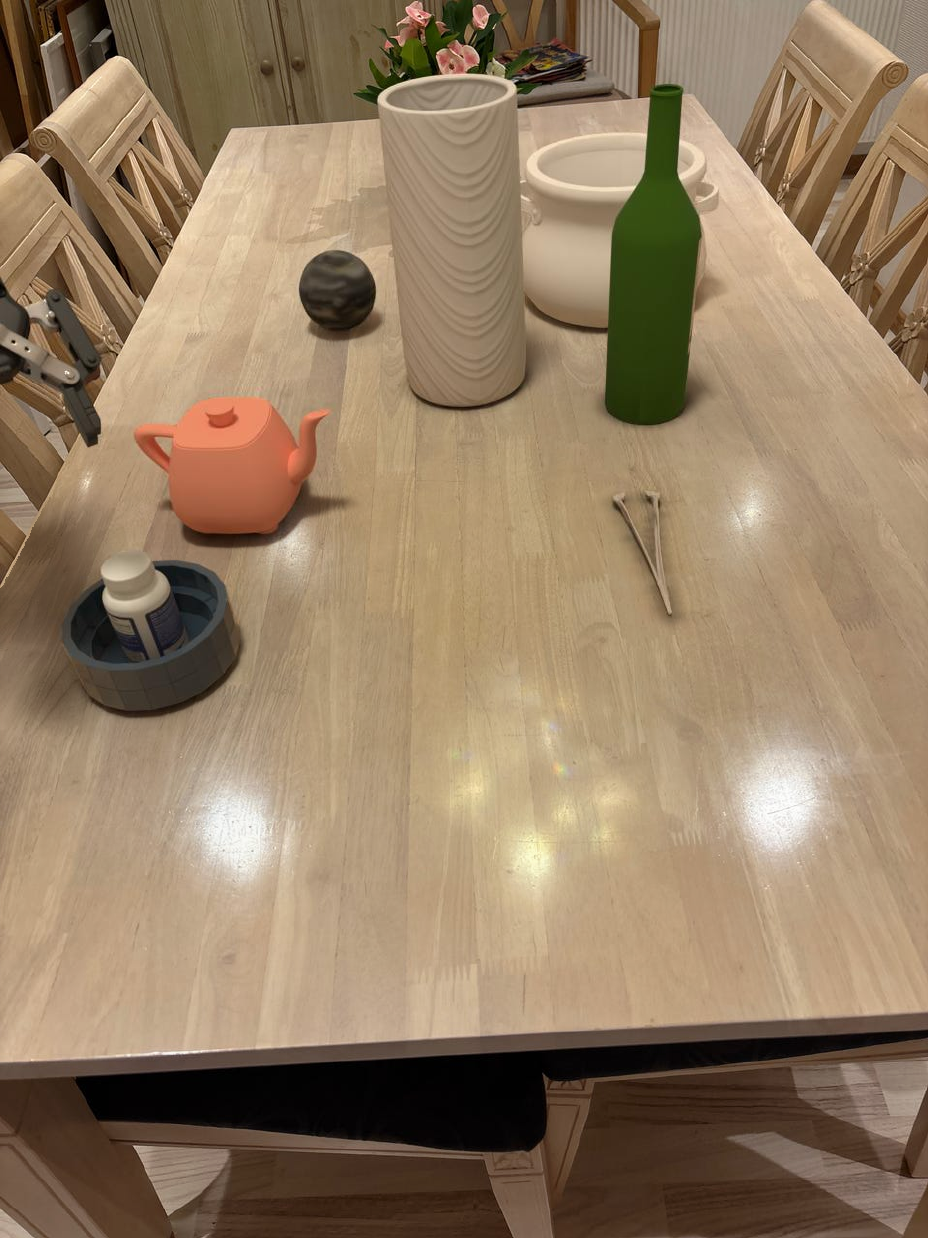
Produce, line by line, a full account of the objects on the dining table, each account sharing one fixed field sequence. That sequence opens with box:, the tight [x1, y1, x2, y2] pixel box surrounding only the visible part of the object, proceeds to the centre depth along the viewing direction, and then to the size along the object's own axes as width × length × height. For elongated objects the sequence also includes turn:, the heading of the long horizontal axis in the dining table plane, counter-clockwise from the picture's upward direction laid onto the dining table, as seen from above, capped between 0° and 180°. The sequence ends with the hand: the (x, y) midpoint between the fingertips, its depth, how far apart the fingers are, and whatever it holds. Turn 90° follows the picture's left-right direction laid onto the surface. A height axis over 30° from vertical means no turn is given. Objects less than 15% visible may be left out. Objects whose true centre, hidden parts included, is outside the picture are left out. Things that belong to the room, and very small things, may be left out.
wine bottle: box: [604, 83, 702, 426], centre depth 99 cm, size 9×9×32 cm
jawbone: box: [611, 489, 673, 616], centre depth 90 cm, size 17×5×2 cm, turn 3°
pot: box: [520, 131, 720, 329], centre depth 125 cm, size 26×24×18 cm
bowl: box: [60, 559, 241, 712], centre depth 82 cm, size 14×14×6 cm
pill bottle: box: [100, 549, 189, 663], centre depth 80 cm, size 5×5×10 cm
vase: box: [376, 73, 527, 408], centre depth 106 cm, size 14×14×32 cm
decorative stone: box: [298, 249, 377, 332], centre depth 126 cm, size 10×10×10 cm
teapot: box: [133, 396, 331, 535], centre depth 96 cm, size 13×20×12 cm, turn 85°
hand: (31, 464), depth 65 cm, fingers open, 8 cm apart
